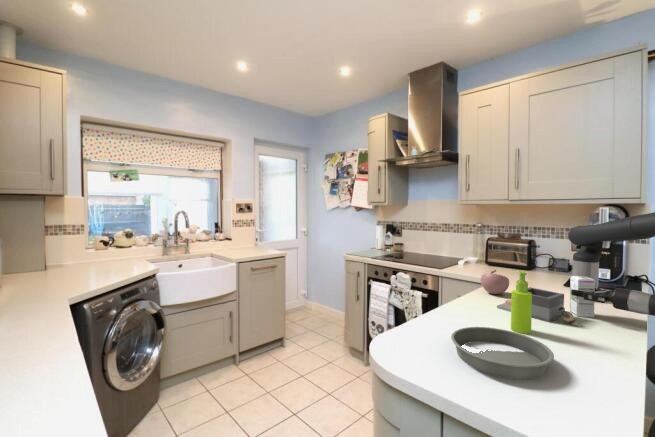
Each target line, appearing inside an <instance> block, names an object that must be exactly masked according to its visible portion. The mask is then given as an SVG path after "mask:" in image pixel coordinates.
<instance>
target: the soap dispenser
mask: <svg viewBox="0 0 655 437" xmlns="http://www.w3.org/2000/svg"><path fill="white" fill-rule="evenodd" d="M515 272H516V273H518V274H519V275H518V280H516V281H515V289H512V290H511V299H510V300H511V312H510V331H512V332H516V333H519V334H522V335H528V334H531V333H532V319H533V318H532V293H531V292H528V288H529V282H528V281H526V276H527V275H528V274H527V272H526V271H525V270H516V271H515Z"/></svg>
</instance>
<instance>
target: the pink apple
mask: <svg viewBox="0 0 655 437" xmlns="http://www.w3.org/2000/svg"><path fill="white" fill-rule="evenodd" d="M496 272H497V269H493V270H490V271H489V273H484V274H482V275H481V277H480V284H481V286H482V288H483V289H484V290H485V291H486V292H487V293H489V294H492V295H500V294H503V293H506V291H507V290H508V288H509V286H510V279H509V278H508V277H507V276H504V275H501V274H498V273H496Z"/></svg>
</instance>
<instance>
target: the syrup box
mask: <svg viewBox="0 0 655 437" xmlns="http://www.w3.org/2000/svg"><path fill="white" fill-rule="evenodd" d="M569 283H570V285H569V286H570V288H569V290H570V294H569V312H571V313H572V315H573V314H574V315H575V316H577V317H581V318H595V302H594V301H589V300H584V297H579V296H574V295H572V290H573V289H574V290H580V291H587V292H591V291H595V280H593V279H591V278H588V277H584V276H572V275H571V276H570V282H569ZM588 297H591V295H588Z"/></svg>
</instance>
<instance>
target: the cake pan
mask: <svg viewBox="0 0 655 437" xmlns="http://www.w3.org/2000/svg"><path fill="white" fill-rule="evenodd" d="M450 338H451V341H452V343H453V344H454V345H455V349H456V354H457V355H458V357H459V358H460V360H461V361H463V363H465V364H466V363H467V365H468V366H470V367H471V368H473V369H476V370H477V371H480V372H483V373H485V374H487V375H492V376H495V377H499V376H500V377H499V378H503V377H504V379H512V380H532V379H537V378H540V377H541V376H543V375H544V374H545V372H546V369H547V366H548V365H550V364H551V363H552V362H553V361H554V358H555V356H554V355H555V354H554V353H553V351H552V349H551V348H550V347H548V346H547V345H546V344H544V343H542V342H541V341H539V340H537V339H535V338H533V337H530V336H528V335H526V334H522V333H517V332H514V331H512V330H507V329H502V328H495V327H490V326H489V327H487V326H468V327H463V328H459V329H457V330H454V331H453V332H452V333H451V336H450ZM469 342H471V343H489V344H490V343H491V344H499V345H501V346H502V345H503V346H506V347H507V346H508V347H510V348H514V349H516V350H520V351H511V350H510V351H509V350H506V351H502V350H496V351H495V350H494V349H490V350H491V351H488V350H489V349H487V350H486V351H485V352H483V351H480V352H479V353H472V352H469V351H467V350H466V349H464V348H462V347H461V346H462V345H464V344H466V343H467V344H470V343H469ZM467 344H466V345H467ZM493 350H494V351H493ZM481 352H482V353H481Z"/></svg>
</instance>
